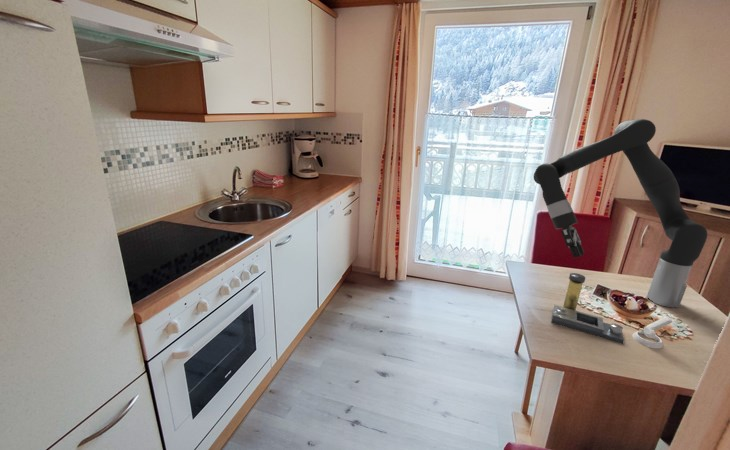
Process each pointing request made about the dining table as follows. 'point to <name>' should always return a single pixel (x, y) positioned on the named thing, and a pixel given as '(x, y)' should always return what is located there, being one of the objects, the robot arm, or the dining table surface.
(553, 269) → the dining table surface
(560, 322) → the grey plate with studs
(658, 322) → the white vr controller
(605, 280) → the dining table surface
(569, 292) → the pin
